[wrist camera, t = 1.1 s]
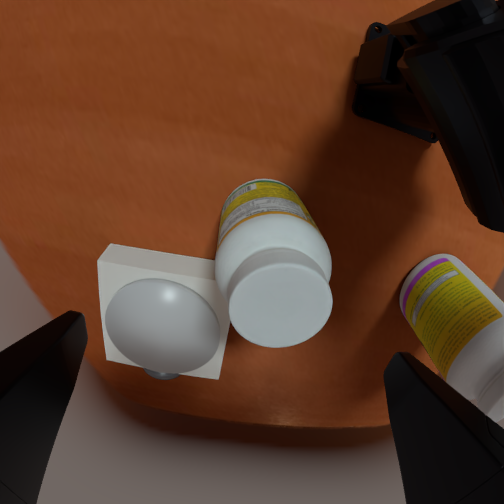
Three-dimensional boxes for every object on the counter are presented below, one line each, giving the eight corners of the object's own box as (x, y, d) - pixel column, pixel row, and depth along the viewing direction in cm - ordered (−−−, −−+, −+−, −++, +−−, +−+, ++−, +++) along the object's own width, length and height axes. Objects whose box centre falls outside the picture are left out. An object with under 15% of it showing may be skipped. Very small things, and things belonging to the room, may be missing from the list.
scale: (238, 260, 22) (238, 289, 19) (218, 358, 26) (217, 390, 23) (112, 240, 21) (93, 264, 18) (117, 341, 25) (105, 370, 22)
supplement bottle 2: (383, 313, 24) (451, 441, 13) (418, 242, 22) (525, 357, 10) (438, 321, 25) (507, 426, 14) (472, 259, 23) (565, 354, 11)
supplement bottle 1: (226, 171, 19) (216, 234, 10) (312, 184, 20) (368, 253, 11) (216, 251, 21) (204, 354, 13) (295, 260, 22) (327, 362, 13)
